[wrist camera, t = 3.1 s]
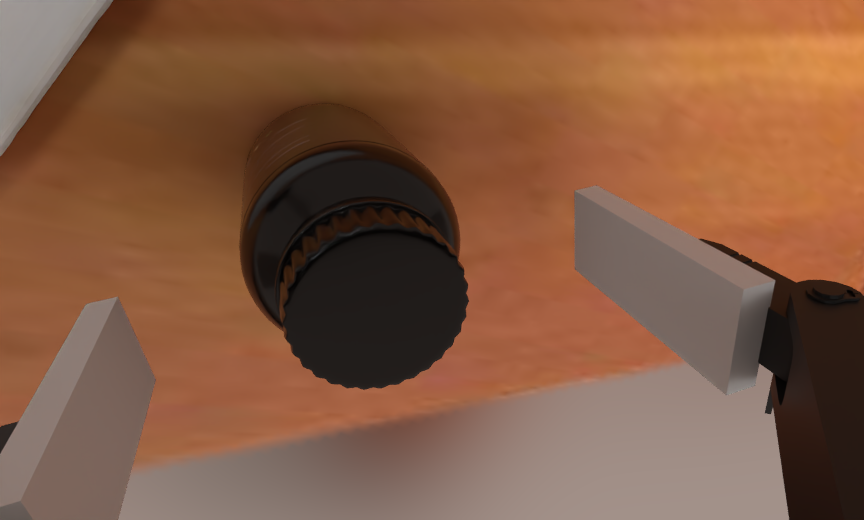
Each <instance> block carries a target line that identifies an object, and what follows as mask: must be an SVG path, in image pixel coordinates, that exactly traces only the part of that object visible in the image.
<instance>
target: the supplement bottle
mask: <svg viewBox="0 0 864 520" xmlns="http://www.w3.org/2000/svg"><path fill="white" fill-rule="evenodd" d="M459 252H460V231H459V224H458V219H457V215H456V212H455V209H454V206H453V204H452V202H451V200H450V198H449V196H448V194H447V192H446V191H445V189H444V188H443V186H442V185H441V184H440V182H439V181H438V180H437V178H436V177H435V176H434V175H433V174H432V173H431V172H430V171H429V170H428V169H427V168H426V167H425V166H424V165H423V164H422V163H421V162H420V161H419V160H418V159H417V158H416V157H414V156H413V155H412V154H411V153H410V152H409V151H408V150H407V149H406V148H405V147H404V146H403V145H401V144H400V143H399V142H398V141H397V140H396V139H395V138H394V137H393V136H392V135H391V134H390V133H388V132H387V131H386V130H385V129H384V128H383V127H382V126H381V125H379V124H378V123H377V122H376V121H374V120H373V119H371V118H370V117H368V116H367V115H365V114H363V113H361V112H359V111H357V110H355V109H352V108H349V107H346V106H341V105H336V104H312V105H306V106H303V107H299V108H296V109H294V110H291V111H289V112H287V113H285V114H283V115H282V116H280V117H279V118H277V119H276V120H274V121H273V122H272V123H271V124H270V125H269V126H268V127H267V128H266V129H265V130H264V131H263V132H262V133H261V135H260V136H259V137H258V139H257V140H256V142H255V144H254V145H253V147H252V149H251V152H250V154H249V157H248V160H247V164H246V169H245V175H244V185H243V199H242V214H241V229H240V261H241V268H242V273H243V277H244V280H245V283H246V286H247V288H248V291H249V293H250V295H251V297H252V298H253V300H254V302H255V303H256V305H257V306H258V308H259V309H260V310H261V312H262V313H263V314H264V315H265V316H266V317H267V318H268V319H269V320H270V321H271V322H272V323H273V324H274V325H275V326H277V327H278V328H279V329H281V330H282V331H283V332H284V337H285V339H286V340H287V341H288V342H289V343H290V345H291V351H292V353H293V354H294V355H295V356H296V357H298V358H299V359H300V361H301V364H302V366H303V367H305V368H307V369H310V370H312V372H313V374H314V375H315V376H316V377H319V378H324V379H326V380H327V381H328V382H329V383H331V384H341V385H342V386H344V387H346V388H354V387H358V388H360V389H363V390H365V389H369V388H372V387H375V388H383V387H386V386H388V385H392V384H393V385H396V384H399V383H401V382H403V381H404V380H406V379H411V378H414V377H415V376H417V375H418V374H419V373H420V372H421V371H425V370H427V369H429V368H430V367H431V365H432V364H433V363H434V362H435V361H437V360H439V359H441V358H442V356H443V355H444V352H445V351H446V350H447V349H448V348H450V347H451V346H452V345H453V342H454V339H455V337H456V336H457V335H458V334H459V333H460V332H461V324H462V322H463V321H464V319H465V318H466V310H465V309H466V306H467V304H468V302H469V300H468V296H467V294H466V292H467V289H468V283H467V281H466V279H465V278H464V268H463V266H462V265H461V263H460V262H459V261H458V259H459Z"/></svg>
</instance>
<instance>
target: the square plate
mask: <svg viewBox="0 0 864 520" xmlns="http://www.w3.org/2000/svg"><path fill="white" fill-rule="evenodd" d="M112 2H113V0H0V156H1V155H2V154H3V153H4V151H5V150H6V149H7V148H8V146H9V145H10V144H11V142H12V141H13V139H14V137H15V136H16V134H17V132H18V131H19V130H20V129H21V128H22V126H23V125H24V124H25V122H26V121H27V119H28V118H29V116H30V115H31V113H32V112H33V110H34V109H35V107H36V106H37V104H38V103H39V102H40V100H41V99H42V98H43V96H44V95H45V93H46V92H47V91H48V89H49V88H50V87H51V85H52V84H53V82H54V81H55V80H56V78H57V77H58V76H59V74H60V73H61V71H62V70H63V69H64V67H65V66H66V64H67V63H68V62H69V60H70V59H71V57H72V56H73V55H74V53H75V52H76V50H77V49H78V48H79V46H80V45H81V44H82V42H83V41H84V40H85V38H86V37H87V35H88V34H89V32H90V31H91V29H92V28H93V26H94V25H95V23H96V22H97V21H98V20H99V19H100V17H101V16H102V15H103V14H104V12H105V11H106V10H107V9H108V8H109V6H110V5H111V3H112Z"/></svg>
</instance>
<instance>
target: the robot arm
mask: <svg viewBox="0 0 864 520" xmlns="http://www.w3.org/2000/svg"><path fill="white" fill-rule="evenodd" d="M575 270H576V271H578V272H579V273H580V274H581V275H582V276H584V277H585V278H586V279H587V280H588V281H590V282H591V283H592V284H593V285H594V286H596V287H597V288H598V289H599V290H600V291H602V292H603V293H604V294H605V295H606V296H608V297H609V298H610V299H611V300H612V301H614V302H615V303H616V304H617V305H618V306H620V307H621V308H622V309H623V310H624V311H626V312H627V313H628V314H629V315H630V316H632V317H633V318H634V319H635V320H636V321H638V322H639V323H640V324H641V325H642V326H644V327H645V328H646V329H647V330H648V331H650V332H651V333H652V334H653V335H654V336H656V337H657V338H658V339H659V340H660V341H662V342H663V343H664V344H665V345H666V346H668V347H669V348H670V349H671V350H672V351H674V352H675V353H676V354H677V355H678V356H680V357H681V358H682V359H683V360H684V361H686V362H687V363H688V364H689V365H690V366H692V367H693V368H694V369H695V370H696V371H698V372H699V373H700V374H701V375H702V376H704V377H705V378H706V379H707V380H708V381H710V382H711V383H712V384H713V385H714V386H716V387H717V388H718V389H719V390H721V391H722V392H723V393H724V394H725V395H729V394H732V393H735V392H738V391H741V390H744V389H747V388H749V387H753V386H755V383H756V377H757V372H758V367H759V363H760V364H761V365H763V366H764V367H765V368H767V369H768V370H770V371H771V372H772V373H773V377H772V382H771V387H770V392H769V396H768V402H767V406H766V410H765V413H767V414H771V411H772V408H773V409H774V416H775V423H776V430H777V437H778V444H779V451H780V458H781V465H782V472H783V479H784V486H785V493H786V500H787V506H788V514H789V520H864V296H863V295H862V294H861V292H859V291H857V290H855V289H853V288H852V287H850V286H847V285H843V284H840V283H837V282H832V281H826V280H806V281H801V282H798V283H796V282H794V281H792V280H790V279H788V278H786V277H784V276H782V275H780V274H778V273H776V272H775V271H773V270H771V269H769V268H767V267H765V266H763V265H761V264H759V263H757V262H752V260H751V259H749V258H747V257H745V256H744V255H739V253H738V252H736V251H734V250H732V249H730V248H728V247H726V246H724V245H722V244H719V243H715V242H711V241H708V240H704V239H697V238H695V237H693V236H691V235H689V234H687V233H685V232H684V231H682V230H680V229H678V228H676V227H674V226H672V225H670V224H669V223H667V222H665V221H663V220H661V219H659V218H657V217H655V216H654V215H652V214H650V213H648V212H646V211H644V210H642V209H640V208H639V207H637V206H635V205H633V204H631V203H629V202H627V201H625V200H624V199H622V198H620V197H618V196H616V195H614V194H612V193H610V192H608V191H607V190H605V189H603V188H601V187H599V186H597V185H596V186H592V187H587V188H583V189H579V190H575ZM155 381H156V379H155V377H154V375H153V373H152V370H151V368H150V366H149V364H148V362H147V359H146V357H145V355H144V353H143V351H142V348H141V346H140V344H139V342H138V340H137V337H136V335H135V333H134V331H133V329H132V326H131V324H130V322H129V320H128V318H127V315H126V313H125V311H124V309H123V307H122V304H121V302H120V300H119V298H118V297H114V298H110V299H105V300H101V301H97V302H92V303H88V304H86V305H85V307H84V308H83V310H82V312H81V314H80V315H79V317H78V319H77V321H76V322H75V324H74V326H73V328H72V329H71V331H70V333H69V335H68V336H67V338H66V340H65V342H64V343H63V345H62V347H61V349H60V350H59V352H58V354H57V356H56V357H55V359H54V361H53V363H52V364H51V366H50V368H49V370H48V371H47V373H46V375H45V377H44V378H43V380H42V382H41V384H40V385H39V387H38V389H37V391H36V392H35V394H34V396H33V398H32V399H31V401H30V403H29V405H28V406H27V408H26V410H25V412H24V413H23V415H22V417H21V419H20V420H19V422H15V423H11V424H8V425H4V426H1V427H0V520H118V518H119V514H120V510H121V506H122V503H123V499H124V495H125V492H126V488H127V484H128V481H129V477H130V473H131V470H132V466H133V462H134V459H135V455H136V451H137V447H138V444H139V440H140V436H141V433H142V429H143V425H144V422H145V418H146V414H147V410H148V407H149V403H150V399H151V396H152V392H153V388H154V385H155Z"/></svg>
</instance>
